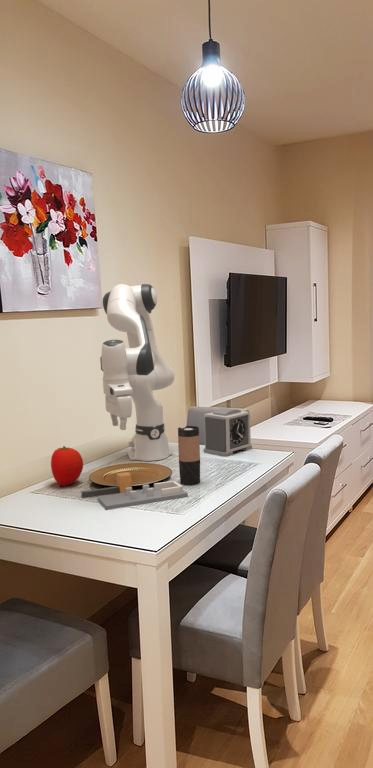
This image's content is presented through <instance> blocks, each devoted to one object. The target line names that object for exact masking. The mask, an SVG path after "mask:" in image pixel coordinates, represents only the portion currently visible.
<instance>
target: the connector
mask: <svg viewBox="0 0 373 768" xmlns="http://www.w3.org/2000/svg"><path fill="white" fill-rule="evenodd" d="M116 485H117V486H116ZM116 485H115V486H109V487H104V488H103V487H102V488H97V489H91V490H89V489H88V490H83V491H81V492H80V493H81V495H80V496H81V498H82V499H85V498H86V499H87V498H92V497H98V496H105V495H111V494H118V493H124V492H126V488H128V487H132V474H131V473H130V472H129V471H127V472H126V471H125V472H118V473H116Z"/></svg>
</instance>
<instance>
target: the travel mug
mask: <svg viewBox="0 0 373 768" xmlns="http://www.w3.org/2000/svg"><path fill="white" fill-rule="evenodd" d="M177 441H178V443H177V444H178V445H177V446H178V447H177V448H178V468H179V481H180V482H179V484H180V485H182V486H196V485H199V484H200V483H201V452H200V449H201V448H200V447H201V446H200V427H199V426H195V425H186V426H185V427H178V428H177Z"/></svg>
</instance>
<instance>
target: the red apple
mask: <svg viewBox="0 0 373 768" xmlns="http://www.w3.org/2000/svg"><path fill="white" fill-rule="evenodd" d="M56 448H57V447H56ZM50 467H51V469H50V470H51V473H52V476H53V479H54V480H55V482H56V483H57V485H59V486H61V487H65V486H69V485H71V484H74V483H76V481H78V479H80V476H81V475H82V472H83V469H84V461H83V457H82V455H81V453H80V452H79V451H78V450H76V449H74V448H73V447H66V446H65V445H63V446H62V447H58V448H57V449H55V450H54V451H53V453H52V455H51V460H50Z"/></svg>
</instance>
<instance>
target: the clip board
mask: <svg viewBox="0 0 373 768" xmlns="http://www.w3.org/2000/svg"><path fill="white" fill-rule="evenodd" d="M188 494H189V493H188V492H187V491H185V490H184V485H182V484H181V483H180V482H179V483H178V482H177V481H176V480H169V481H163V482H155V483H153V487H150V485H149V484H143V485H142V489H138V490H133V487H132V486H131V487H128V488H126V492H124V493H120V492H119V493H112V494H106V495H99V496H96V498H97V501H98V502H99V503H100V505H101V506H102V507H103V508H104V509H105V510H106V511H107V510H114V509H121V508H127V507H131V506H138V505H143V504H144V505H145V504H149V503H151V504H152V503H156V502H162V501H170V500H175V499H181V498H187V497H189V495H188Z"/></svg>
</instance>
